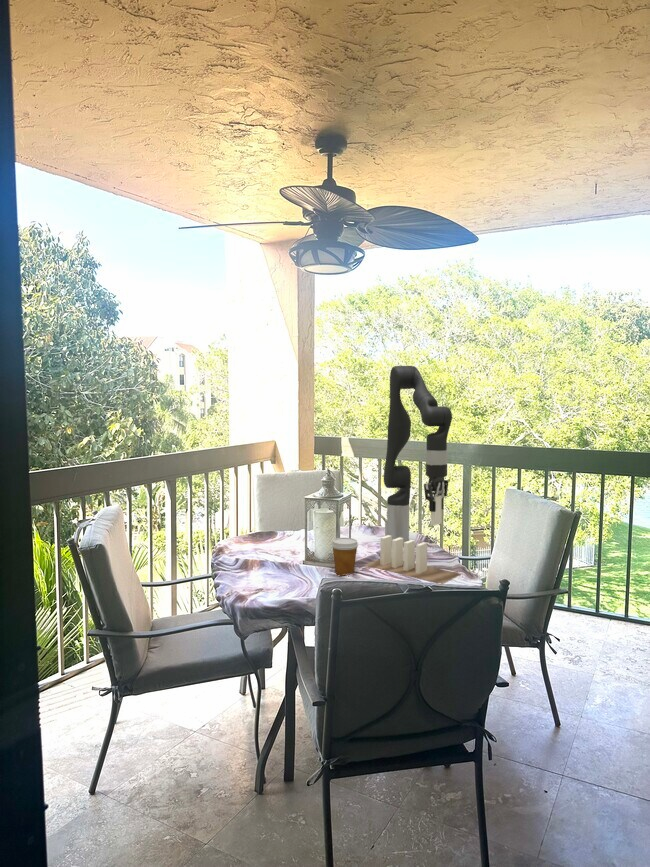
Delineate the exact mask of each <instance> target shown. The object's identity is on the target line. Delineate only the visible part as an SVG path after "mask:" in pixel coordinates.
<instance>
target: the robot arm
mask: <svg viewBox="0 0 650 867" xmlns="http://www.w3.org/2000/svg"><path fill="white" fill-rule="evenodd" d="M390 369H391V370H390V374H389V410H388V411H389V412H388V414H389V415H388V425H387V442H386V443H387V445H386V455H385V461H384V462H385V463H384V469H383V483H384V487H385V488H388V489H399V490H398V491H397V492H395V493H394V494H390V495H389V496H388V497H387V499H386V500H387V502H386V505H387V507H386V508H387V510H386V511H387V512H386V520H385V521H384V536H387V535H390V536H392V540H394V539H396V538H399V537H400V538H403V548H404V542H406V541H409V540H410V498H411V483H412V482H411V481H412V472H411V469H410V467H409V466H408V465H395V464H396V461H397V459H398V456H399V454H400V453H401V452H402V450H403V449H404V447H406V445H407V443H408V441H409V439H410V437H411V431H412V430H411V429H412V421H411V417H410V415H409V413H408V412H407V410H406V409H405V406H404V405H403V401H402V399H401V390H411V389H413V390H414V391H413V393H412V400H413V403H414V405H415V406H416V408H417V409H418V410H419V413H420V417H421V422H422V423H423V425H425V426H427V427H438V428H437V430H436V431H435V432H431V433H428V434H427V435H426V452H425V476H426V477H428V481H427V483H423V488H424V489H423V491H424V496H425V498H424V499H425V500H427V501H428V511H429V512H430V513H431V512H435V511H436V496H437V495H441V496H442V510H444V499H445V498H446V497H448V496H447V495H448V488H449V480H448V479H445V477H447V476H448V451H447V450H448V448H447V446H448V442H447V440H448V435H449V431H450V428H451V425H452V420H453V413H452V411H451V408H449V407H448V406H445V405H444V406H439V404H438V401H437V399H436V398H435V396H433V395H432V393H431V392H430V390H429V389H428V387H427V385H426V383H425V381H424V379H423V376H422V375H421V372H420V371H419V369H418V368H417V367H416V366H413V365H395V366H392V368H390Z"/></svg>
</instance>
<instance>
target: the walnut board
mask: <svg viewBox="0 0 650 867" xmlns="http://www.w3.org/2000/svg"><path fill="white" fill-rule="evenodd" d="M364 566H365V567H370V568H373V569H376V570H382V571H385V572H390V573H394V574H398V575H402V576H407V577H410V578H414V579H418V580H422V581H427V582H431V583H434V584H438V583H441V584H440V585H444V584H445V583H448V582H450V581H451V580H453V579H455V578H457V577H458V576H461V575H462V573H459V572H455V571H452V570H451V571H450V570H447V569H441V568H437V567H434V566H428V565H427V571H425V572H423V573H421V574H418V573H416V562H415V568H413V569H411V570H408V571H405V570H403V568H404V560H403V565H402V566H399V567H397V568H393V567H392V562H391V563H389V564H386V565H380V558H378V559H376V560H373V561H371V562H368V563H366V564H364Z"/></svg>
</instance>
